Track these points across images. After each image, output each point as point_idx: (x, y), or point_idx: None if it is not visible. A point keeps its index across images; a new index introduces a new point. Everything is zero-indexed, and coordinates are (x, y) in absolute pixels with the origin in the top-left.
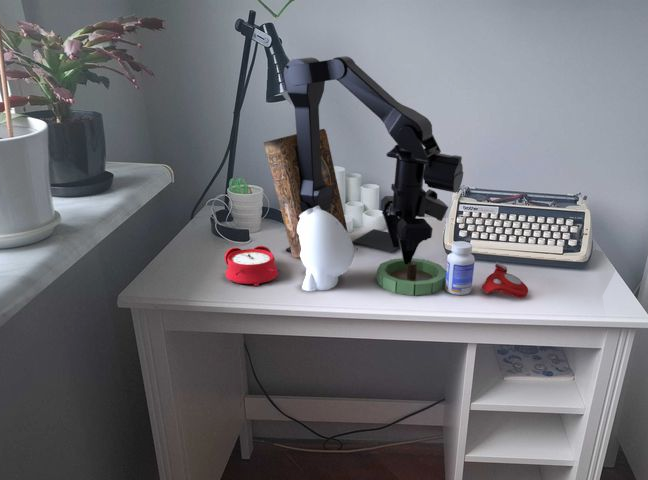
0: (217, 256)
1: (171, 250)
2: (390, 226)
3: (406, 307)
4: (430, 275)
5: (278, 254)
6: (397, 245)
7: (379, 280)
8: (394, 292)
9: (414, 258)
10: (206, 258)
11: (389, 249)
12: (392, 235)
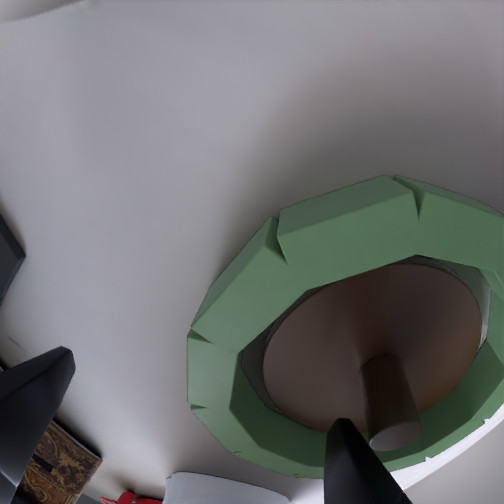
0: (98, 491)
1: (85, 494)
2: (13, 471)
3: (492, 417)
4: (419, 272)
5: None
6: (66, 362)
7: None
8: None
9: (212, 310)
10: (107, 498)
11: (10, 267)
12: (38, 427)
